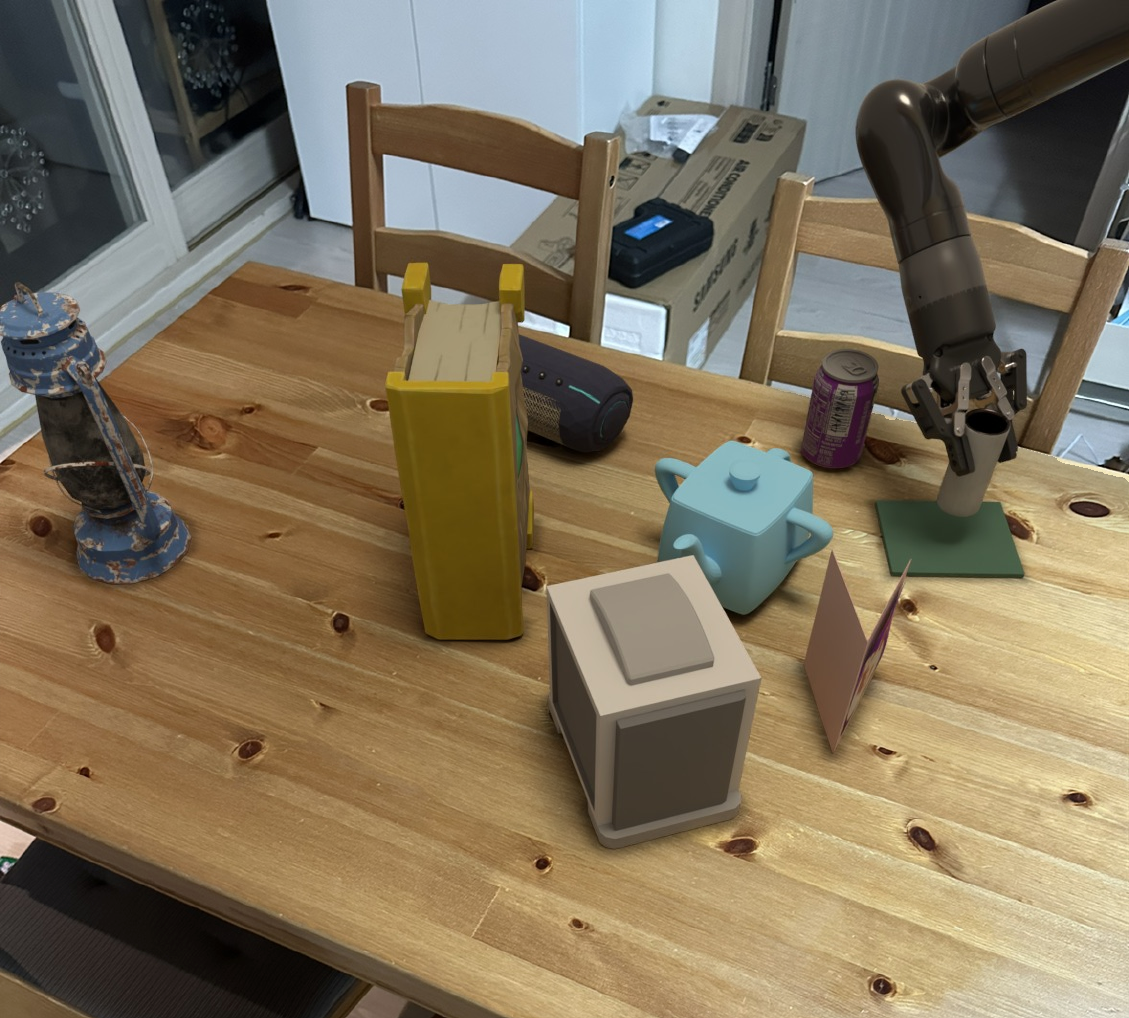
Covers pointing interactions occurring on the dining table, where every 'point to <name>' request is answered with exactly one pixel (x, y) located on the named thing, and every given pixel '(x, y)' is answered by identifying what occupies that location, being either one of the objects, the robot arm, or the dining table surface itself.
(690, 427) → the dining table surface
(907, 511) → the green mat
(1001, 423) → the planter
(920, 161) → the robot arm
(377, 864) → the dining table surface
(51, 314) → the lantern
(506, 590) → the decorative book
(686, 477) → the teapot
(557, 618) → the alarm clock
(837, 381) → the beverage can
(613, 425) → the portable speaker
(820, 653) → the greeting card
